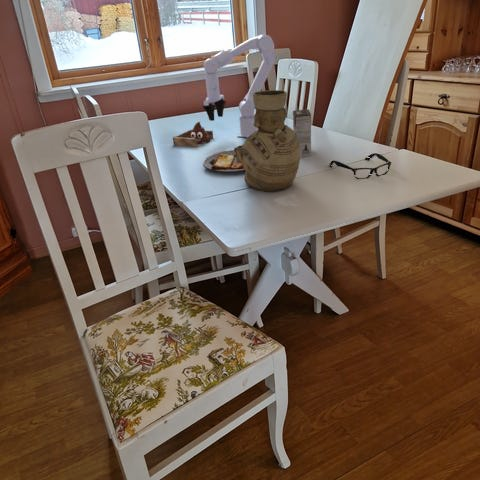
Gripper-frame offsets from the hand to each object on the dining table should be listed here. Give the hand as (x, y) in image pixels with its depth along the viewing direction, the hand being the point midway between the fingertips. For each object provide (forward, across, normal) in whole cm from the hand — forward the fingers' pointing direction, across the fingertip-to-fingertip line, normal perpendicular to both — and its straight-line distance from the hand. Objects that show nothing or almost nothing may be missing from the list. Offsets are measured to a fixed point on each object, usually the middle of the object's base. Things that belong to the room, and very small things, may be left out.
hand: (216, 118), depth 194 cm
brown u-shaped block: (+9, +7, -9) cm, 15 cm away
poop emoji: (+10, +7, -6) cm, 13 cm away
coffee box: (+10, +12, +47) cm, 49 cm away
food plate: (+10, +32, +27) cm, 43 cm away
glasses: (+10, +26, +74) cm, 79 cm away
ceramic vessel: (+10, +48, +50) cm, 70 cm away
